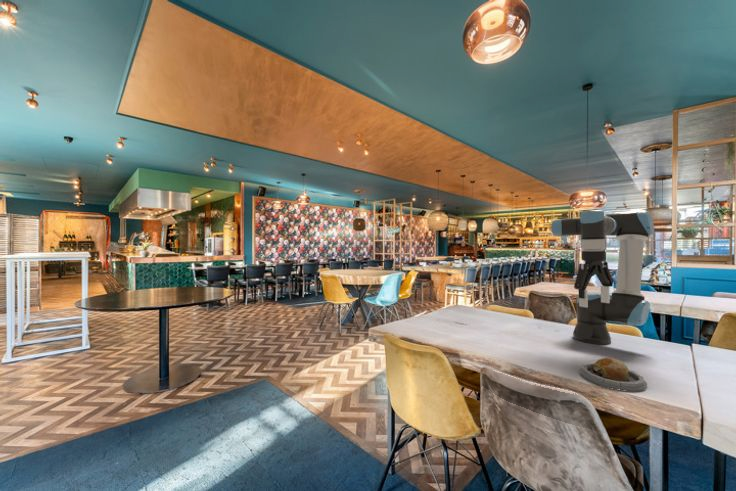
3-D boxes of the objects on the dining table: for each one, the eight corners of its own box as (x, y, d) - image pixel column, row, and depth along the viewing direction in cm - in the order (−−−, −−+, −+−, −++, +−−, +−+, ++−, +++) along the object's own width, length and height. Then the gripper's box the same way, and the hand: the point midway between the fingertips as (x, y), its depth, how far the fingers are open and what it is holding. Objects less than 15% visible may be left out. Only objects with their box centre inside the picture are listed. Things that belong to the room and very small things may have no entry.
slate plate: (600, 366, 117) (600, 360, 117) (659, 385, 100) (659, 379, 100) (568, 373, 110) (568, 367, 110) (625, 395, 93) (625, 388, 93)
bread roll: (625, 394, 99) (639, 375, 97) (590, 375, 104) (602, 356, 102) (620, 383, 108) (632, 364, 106) (588, 365, 113) (599, 347, 111)
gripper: (602, 248, 125) (603, 299, 126) (562, 251, 116) (563, 306, 116) (623, 249, 118) (624, 302, 119) (582, 252, 109) (584, 310, 109)
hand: (594, 304), depth 117 cm, fingers open, 13 cm apart
